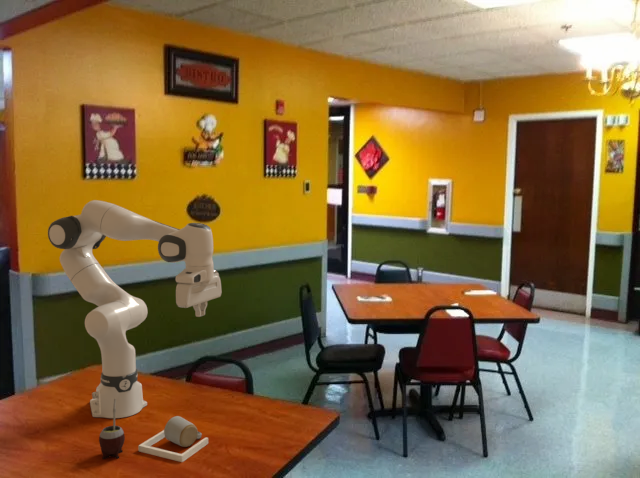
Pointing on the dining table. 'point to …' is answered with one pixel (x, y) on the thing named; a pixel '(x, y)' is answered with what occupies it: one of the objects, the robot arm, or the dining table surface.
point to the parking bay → (168, 454)
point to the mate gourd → (111, 439)
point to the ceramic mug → (181, 431)
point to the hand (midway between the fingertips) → (200, 315)
